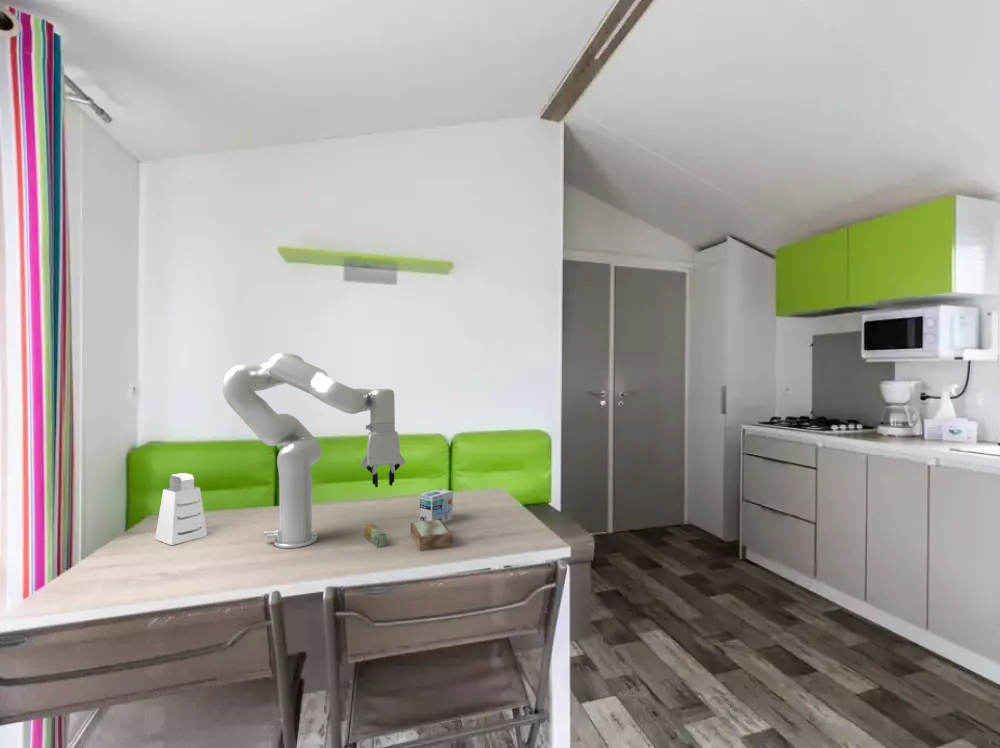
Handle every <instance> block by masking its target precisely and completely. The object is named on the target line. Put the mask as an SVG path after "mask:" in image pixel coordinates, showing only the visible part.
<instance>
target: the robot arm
mask: <svg viewBox="0 0 1000 748" xmlns="http://www.w3.org/2000/svg"><path fill="white" fill-rule="evenodd" d="M283 384H287V385H289V386H292V387H294V388H296V389H298V390H301V391H302V392H305V393H306V394H309V395H311V396H312V397H314V398H315V399H317V400H319V401H320V402H322V403H324V404H326V405H328V406H330V407H331V408H334V409H336V410H339V411H341V412H343V413H346V414H349V415H350V414H351V415H355V414H359V413H362V412H367V411H370V413H369V415H370V418H369V419H370V423H369V424H366V425H365V430H369V431H370V432H368V435H367V441H366V453H365V456H364V458H363V459H362V461H361V462H360V466H361V467H362V468H364V469H366V470H367V471H368V472H370V474H371V475H372V485H374V487H375V488H378V487H379V478H378V477H379V476H378V475H379V474H378V472H377V470H378V466H382V465H384V466H385V465H389V466H388V467H389V469H390V470H389V471H388V485H389V486H391V487H393V483H395V473H396V471H397V470H398V469H399V468H401V466H403V465H404V464H405V463H406V460H405V458H404V457H403V456H402V454H401V447H400V439H399V433H398V431H397V430H396V424H395V423H396V421H395V420H396V419H395V418H396V417H395V414H396V411H395V410H396V409H395V407H396V406H395V392H394V389H390V388H378V389H377V388H375V389H369V388H368V389H367V388H352V387H350V386H347V385H345V384H343V383H341V382H338V381H336V380H335V379H333V378H331V377H330V376H329V375H328V373H327V372H326V371H325V370H323V369H322V368H320V367H317V366H316V365H313V364H311V363H308V362H307V361H305V360H304V359H303V358H302V357H301V356H299V355H298V354H294V353H287V352H282V353H281V352H280V353H277V354H275V355H272V356H271V357H270V359H269V360H268V362H264V363H261V364H240V365H239V364H238V365H236V366H233V367H231V368H230V369H229V370H228V371H227V372H226V374H225V375H224V378H223V382H222V393H223V397H224V399H225V401H226V402H227V404H228V405H229V407H230V408H231V409H232V410H233V411H234V412H235V413H236V414H237V415H238V417H240V419H241V420H242V421H243V422H244V423H245V424H246V426H248V427H249V429H250V430H251V431H252V432H253V434H255V435H256V436H257V438H258V439H259V440H260V441H261V442H262V443H263V444H265V445H267V446H269V447H274V446H279V445H281V446H282V448H280V450H279V452H278V454H277V459H276V463H277V465H276V466H277V470H278V479H279V481H278V483H279V484H278V485H279V519H278V520H279V526H278V528H275V529H274V530H265V531H263V538H265V539H267V540H269V539H270V540H271V539H273V545H274V546H275V547H277V548H279V549H280V548H281V549H295V548H303V547H305V546H309V545H312V544H313V543H315V542H316V541H317V540H318V534H317V533H315V532H313V477H312V476H313V475H312V471H311V466H313V465H314V464H316V463H317V462H318V461H319V460H320V458H321V457H322V448H321V444H320V443H319V441H318V440H317V439H316V438H315V436H314V435H312V434H311V432H310V431H309V430H308V429H307V428H306V427H305V425H303V423H302V422H301V421H300V420H298V418H297V417H295V416H293V415H291V414H288V413H279V414H278V412H276V411H275V410H274V409H273V408H272V407H271V406H270V404H269V403H268V402H267V401H266V400H265V399H264V398H262V397H261V396H259V395H258V394H257V392H261V391H264V390H268V389H271V388H274V387H277V386H280V385H283ZM302 546H303V547H302Z"/></svg>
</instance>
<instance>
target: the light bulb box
mask: <svg viewBox="0 0 1000 748" xmlns="http://www.w3.org/2000/svg"><path fill="white" fill-rule="evenodd" d="M453 493H454V492H453V491H452V490H448V489H443V488H437V489H434V490H430V491H427V492H422V493H419V522H425V521H434V520H441V521H442V522H443V523H446V522H449V521H451V520H453V502H454V500H453V499H454V498H453V496H454V495H453Z"/></svg>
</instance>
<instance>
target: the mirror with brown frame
mask: <svg viewBox="0 0 1000 748" xmlns="http://www.w3.org/2000/svg"><path fill="white" fill-rule="evenodd" d="M444 523H445V522H444ZM444 523H443V522H442V521H441V520H434V521H425V522H420V521H417V522H416V521H415V522H411V523H410V536H411V538H412V539H413V541H414V543H415V545H416V547H417V549H418V551H419V552H422V551H423V552H424V551H430V550H438V549H439V550H440V549H443V548H445V549H446V548H452V547H453V533H452V532H451V530H449V528H448V527H447V526H446V524H444Z"/></svg>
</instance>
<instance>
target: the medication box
mask: <svg viewBox="0 0 1000 748" xmlns="http://www.w3.org/2000/svg"><path fill="white" fill-rule="evenodd" d="M363 534H364V535H363V537H364V538H366V539H367V540H368V541H369V542H370V543H372V544H373V545H374V546H375V547H376V548H378V549H379V548H383V547H386V544H387V543H386V542H387V541H386V540H387V533H386V532H385V531H383V530H382V529H380V528H379V527H378V526H377V525H375V524H373V523H366V524H365V526H364V533H363Z"/></svg>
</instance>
